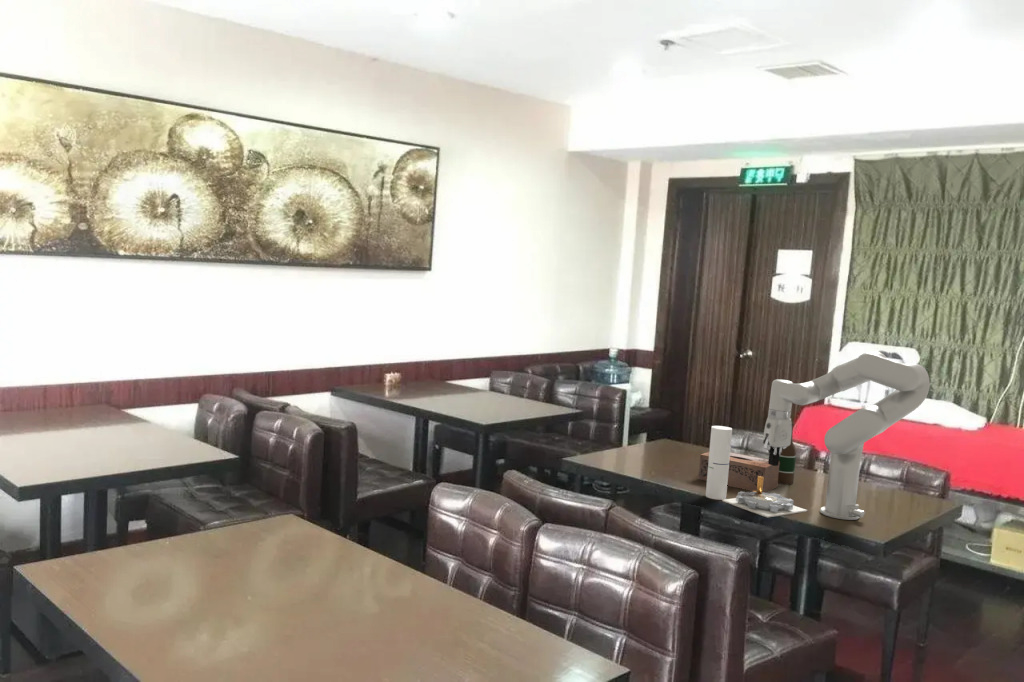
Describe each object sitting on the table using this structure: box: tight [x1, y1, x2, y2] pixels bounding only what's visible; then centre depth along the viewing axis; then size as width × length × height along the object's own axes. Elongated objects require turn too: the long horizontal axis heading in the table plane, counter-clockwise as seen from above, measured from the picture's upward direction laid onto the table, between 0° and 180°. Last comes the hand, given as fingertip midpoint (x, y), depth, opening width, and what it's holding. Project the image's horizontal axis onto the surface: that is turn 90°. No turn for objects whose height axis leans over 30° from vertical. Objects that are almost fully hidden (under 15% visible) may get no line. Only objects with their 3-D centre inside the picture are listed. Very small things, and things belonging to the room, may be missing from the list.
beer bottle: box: [778, 421, 797, 485], centre depth 322 cm, size 8×8×24 cm
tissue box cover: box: [698, 451, 780, 493], centre depth 316 cm, size 26×14×10 cm, turn 52°
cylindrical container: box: [705, 425, 733, 501], centre depth 292 cm, size 7×7×25 cm
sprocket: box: [735, 476, 795, 512], centre depth 284 cm, size 19×19×8 cm
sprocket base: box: [722, 497, 808, 518], centre depth 285 cm, size 20×20×1 cm
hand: (773, 464), depth 294 cm, fingers closed
